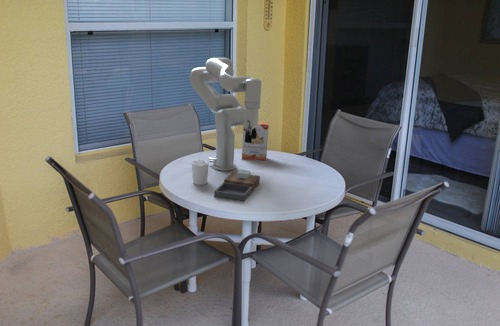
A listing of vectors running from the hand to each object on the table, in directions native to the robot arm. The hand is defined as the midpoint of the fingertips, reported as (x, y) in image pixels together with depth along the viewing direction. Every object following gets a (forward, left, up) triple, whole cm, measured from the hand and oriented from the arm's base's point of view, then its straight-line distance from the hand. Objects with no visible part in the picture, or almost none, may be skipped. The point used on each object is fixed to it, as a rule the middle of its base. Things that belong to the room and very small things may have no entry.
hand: (250, 140), depth 240 cm
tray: (0, -24, -20) cm, 31 cm away
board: (0, -11, -20) cm, 23 cm away
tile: (0, -9, -16) cm, 18 cm away
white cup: (-20, -15, -20) cm, 32 cm away
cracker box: (-7, +34, -20) cm, 40 cm away
